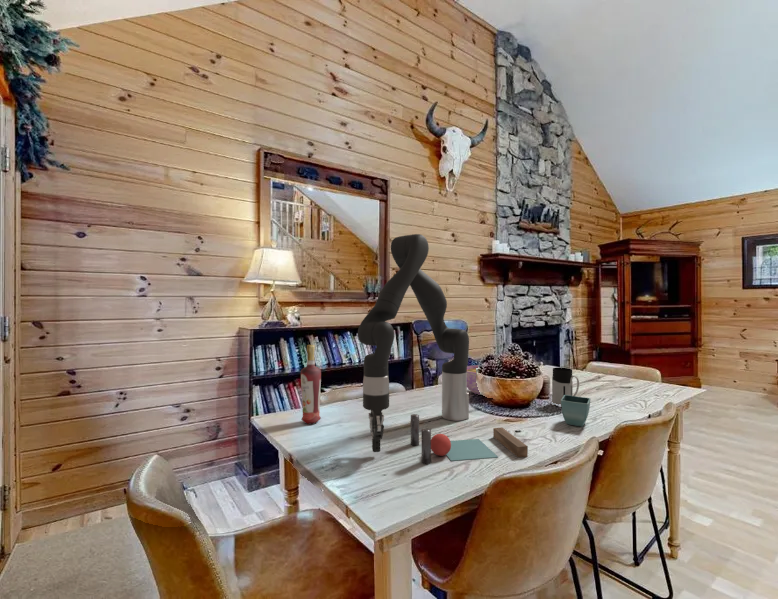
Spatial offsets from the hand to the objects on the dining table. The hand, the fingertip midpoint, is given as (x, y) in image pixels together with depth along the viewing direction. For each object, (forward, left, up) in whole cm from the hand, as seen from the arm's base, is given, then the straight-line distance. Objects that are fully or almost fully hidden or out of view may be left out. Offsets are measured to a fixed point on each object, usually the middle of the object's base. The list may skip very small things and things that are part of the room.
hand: (376, 451), depth 113 cm
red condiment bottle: (+19, -34, -2) cm, 39 cm away
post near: (-13, +6, -2) cm, 15 cm away
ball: (-18, +2, +2) cm, 19 cm away
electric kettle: (-84, -35, -2) cm, 91 cm away
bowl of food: (-59, -60, -2) cm, 84 cm away
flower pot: (-74, -15, -2) cm, 76 cm away
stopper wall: (-41, 0, -2) cm, 41 cm away
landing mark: (-27, 0, -2) cm, 27 cm away
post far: (-13, -7, -2) cm, 15 cm away
